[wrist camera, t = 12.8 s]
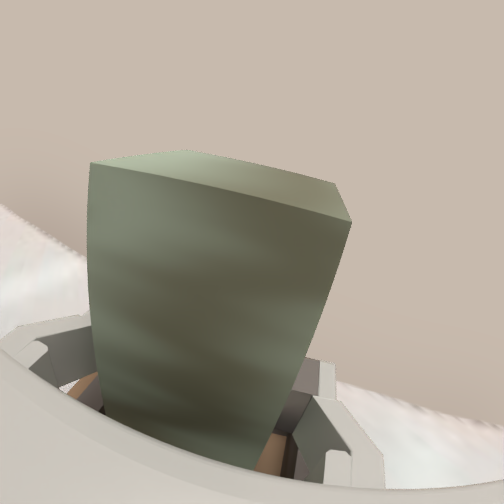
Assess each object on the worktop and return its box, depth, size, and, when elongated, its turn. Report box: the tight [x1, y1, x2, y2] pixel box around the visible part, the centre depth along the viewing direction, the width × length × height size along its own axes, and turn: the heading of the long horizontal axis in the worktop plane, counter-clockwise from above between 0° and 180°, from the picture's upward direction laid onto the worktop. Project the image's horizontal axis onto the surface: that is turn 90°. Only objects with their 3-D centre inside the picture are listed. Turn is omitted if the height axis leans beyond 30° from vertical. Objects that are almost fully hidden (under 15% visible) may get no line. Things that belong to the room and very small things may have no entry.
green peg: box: [87, 150, 352, 471], centre depth 9 cm, size 4×4×12 cm
